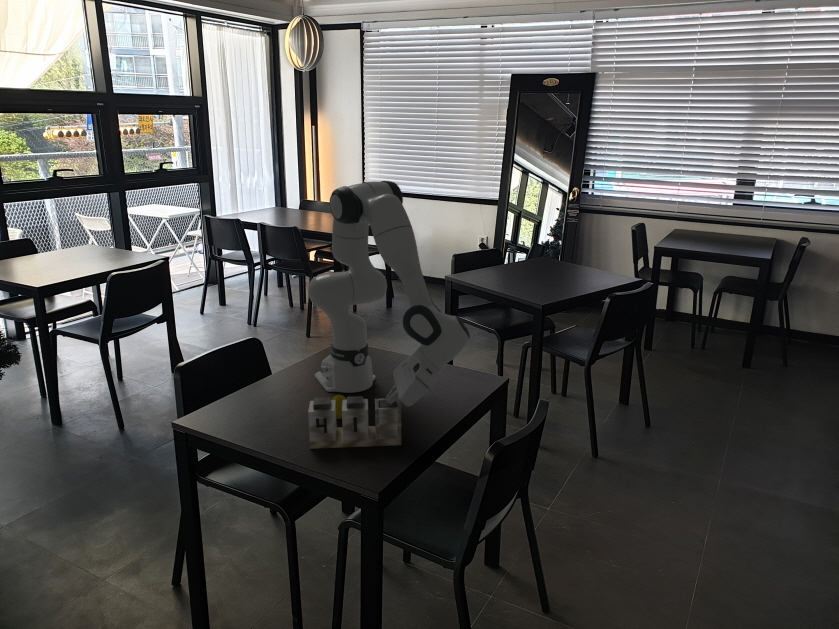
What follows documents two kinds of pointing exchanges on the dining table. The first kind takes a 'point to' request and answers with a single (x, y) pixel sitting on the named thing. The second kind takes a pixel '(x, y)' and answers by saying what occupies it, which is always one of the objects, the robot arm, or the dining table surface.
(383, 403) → the plain button
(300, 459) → the dining table surface
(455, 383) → the dining table surface
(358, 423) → the button panel
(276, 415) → the dining table surface
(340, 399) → the lemon
